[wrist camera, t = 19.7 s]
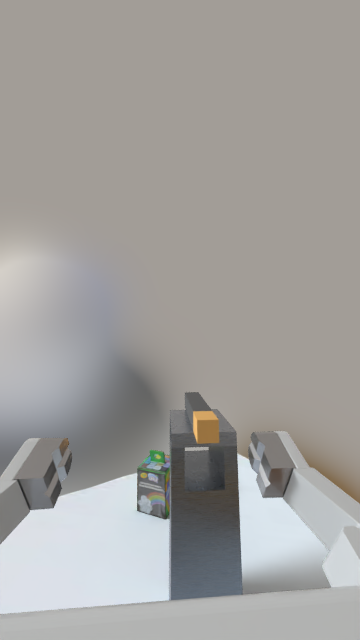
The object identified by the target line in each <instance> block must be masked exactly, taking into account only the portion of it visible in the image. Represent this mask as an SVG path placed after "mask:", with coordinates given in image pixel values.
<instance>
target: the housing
mask: <svg viewBox="0 0 360 640" xmlns="http://www.w3.org/2000/svg"><path fill="white" fill-rule="evenodd" d="M211 410H212V411H213V413H214V414H215V415H216V417H217V418H218V419H219V443H205V444H197V441H196V438H195V435H194V432H193V429H192V426H191V423H190V420H189V417H188V414H187V411H186V410H170V524H169V600H182V599H194V598H206V597H219V596H231V595H243V594H242V568H241V542H240V516H239V490H238V464H237V438H236V431H235V430H234V429H233V427H232V426H231V425H230V424H229V423H228V421H227V420H226V419H225V418H224V417H223V415H222V414H221V413H220V412H219V411H218V410H217V409H211ZM185 447H209V450H206V451H205V450H204V451H185Z"/></svg>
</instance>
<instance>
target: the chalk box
mask: <svg viewBox="0 0 360 640" xmlns="http://www.w3.org/2000/svg"><path fill="white" fill-rule="evenodd" d="M137 470H138V471H137V474H138V475H137V511H141V512H144V513H147V514H151V515H154V516H157V517H160V518H163V519H166V518H167V516H168V514H169V512H170V455H164V452H162V451H156V450H150V456H148V457H147V458H146V459H145V460H144V461H143V463H142V464H141V465H140V466H139V467H138V469H137Z"/></svg>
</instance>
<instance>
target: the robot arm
mask: <svg viewBox="0 0 360 640" xmlns="http://www.w3.org/2000/svg"><path fill="white" fill-rule="evenodd" d="M251 440H252V443H251V444H250V445H249V449H248V455H249V460H250V464H251V467H252V469H253V470H254V471H255V472H256V473H257V474H258V475H257V479H256V481H257V483H258V486H259V489H260V491H261V494H262V497H263V498H274V497H283V499H284V500H285V501H286V503H287V504H288V505H289V506H290V507H291V508H292V509H293V511H294V512H295V513H296V514H297V515H298V516H299V517H300V518H301V520H302V521H303V522H304V523H305V524H306V525H307V526H308V528H309V529H310V530H311V531H312V532H313V533H314V534H315V535H316V537H317V538H318V539H319V540H320V541H321V542H322V543H323V545H324V546H325V547H326V548H327V549H328V550H329V552H328V554H327V556H326V558H325V559H324V561H323V564H322V568H323V570H324V572H325V575H326V577H327V579H328V581H329V583H330V585H331V587H330V588H318V589H305V590H293V591H281V592H268V593H256V594H244V595H231V596H219V597H206V598H194V599H182V600H169V601H157V602H144V603H132V604H120V605H107V606H95V607H83V608H70V609H58V610H45V611H33V612H21V613H8V614H0V640H360V504H359V503H358V502H356V501H355V500H354V499H353V498H351V497H350V496H349V495H347V494H346V493H345V492H344V491H342V490H341V489H340V488H338V487H337V486H336V485H335V484H333V483H332V482H331V481H329V480H328V479H327V478H326V477H324V476H323V475H322V474H321V473H319V472H318V471H317V470H315V469H314V468H310V467H309V466H308V464H307V463H306V461H305V459H304V458H303V456H302V455H301V453H300V452H299V450H298V448H297V447H296V445H295V443H294V442H293V440H292V439H291V437H290V435H289V434H288V433H287V432H286V431H275V432H274V431H268V432H253V433H252V434H251ZM68 445H69V441H68V438H33V439H31V438H30V439H28V440H27V441H26V442H25V443H24V444H23V445H22V447H21V448H20V450H19V451H18V453H17V454H16V455H15V457H14V458H13V460H12V461H11V463H10V464H9V465H8V467H7V468H6V470H5V471H4V473H3V474H2V475H1V477H0V544H1V543H2V542H3V541H4V540H5V539H6V538H7V536H8V535H9V534H10V533H11V532H12V531H13V530H14V529H15V528H16V527H17V526H18V524H19V523H20V522H21V521H22V520H23V519H24V518H25V517H26V516H27V515H28V513H29V512H30V510H38V509H50V508H54V506H55V503H56V501H57V499H58V496H59V494H60V491H61V489H62V487H61V483H60V482H61V481H62V480H64V478H66V476H67V475H68V472H69V469H70V466H71V462H72V453H71V451H70V450H69V449H68V448H67V447H68Z"/></svg>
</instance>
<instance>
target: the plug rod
mask: <svg viewBox="0 0 360 640" xmlns="http://www.w3.org/2000/svg"><path fill="white" fill-rule="evenodd" d="M185 408H186V411H187V414H188V417H189V420H190V423H191V426H192V429H193V432H194V435H195V438H196V441H197V444H205V443H219V419H218V418H217V417H216V415H215V414H214V413H213V411H212V410H211V409H210V407H209V406H208V405H207V403H206V402H205V401H204V400H203V398H202V397H201V395H200V394H199V393H198V392H197V393H196V392H193V393H192V392H191V393H185Z"/></svg>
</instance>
